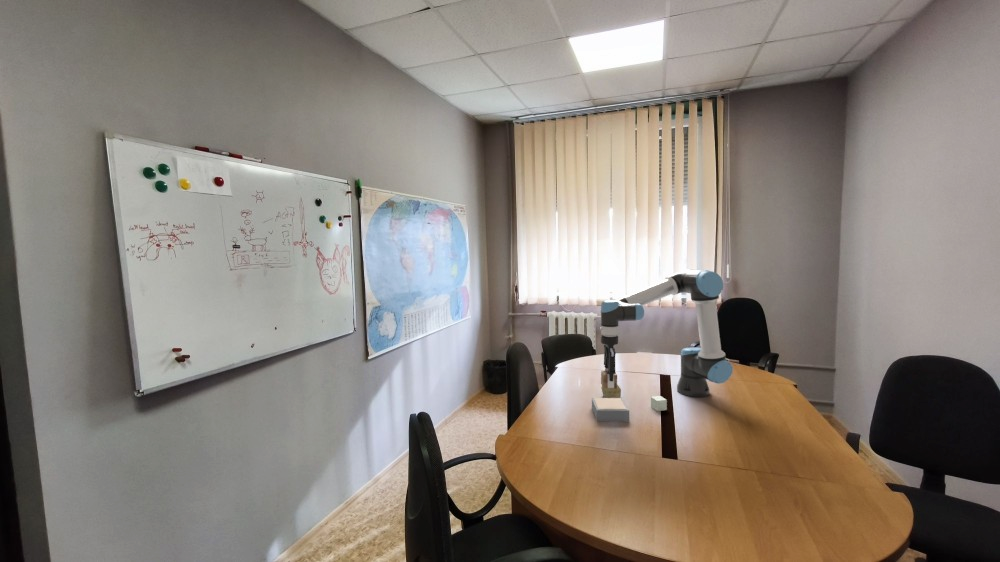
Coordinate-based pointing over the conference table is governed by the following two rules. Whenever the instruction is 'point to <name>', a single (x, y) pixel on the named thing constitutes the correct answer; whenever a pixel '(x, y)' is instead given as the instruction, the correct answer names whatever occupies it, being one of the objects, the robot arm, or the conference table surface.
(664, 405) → the sage cube
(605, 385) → the walnut cube
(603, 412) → the plinth
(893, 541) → the conference table surface
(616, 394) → the decorative item
